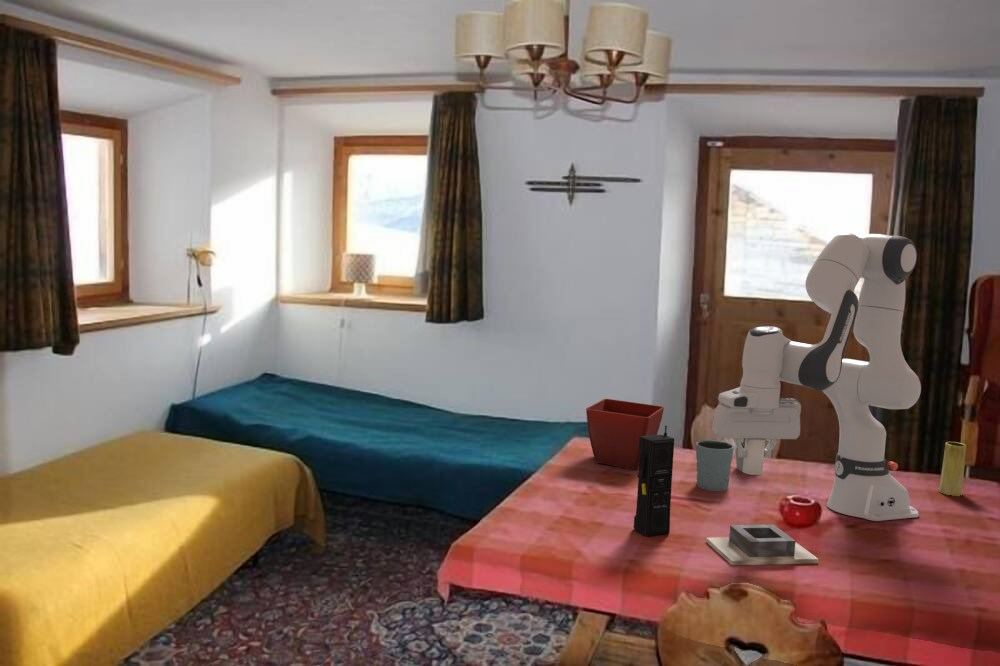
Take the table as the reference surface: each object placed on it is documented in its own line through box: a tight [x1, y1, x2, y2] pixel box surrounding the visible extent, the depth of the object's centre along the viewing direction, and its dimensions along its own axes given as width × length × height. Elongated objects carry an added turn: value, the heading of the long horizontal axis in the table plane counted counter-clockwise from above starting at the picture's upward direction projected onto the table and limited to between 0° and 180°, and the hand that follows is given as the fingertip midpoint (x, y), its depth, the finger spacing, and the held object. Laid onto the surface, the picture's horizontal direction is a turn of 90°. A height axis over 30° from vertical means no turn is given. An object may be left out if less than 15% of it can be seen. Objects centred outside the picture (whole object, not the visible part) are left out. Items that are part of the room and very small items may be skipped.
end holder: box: [705, 524, 819, 566], centre depth 203 cm, size 20×14×4 cm
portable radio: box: [633, 425, 675, 537], centre depth 212 cm, size 8×6×25 cm
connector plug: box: [742, 438, 767, 476], centre depth 210 cm, size 4×4×8 cm
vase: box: [938, 441, 967, 497], centre depth 256 cm, size 6×6×14 cm
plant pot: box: [585, 398, 665, 470], centre depth 273 cm, size 19×19×17 cm
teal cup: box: [695, 439, 735, 492], centre depth 252 cm, size 10×10×12 cm
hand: (753, 456), depth 210 cm, fingers closed on connector plug, 4 cm apart
